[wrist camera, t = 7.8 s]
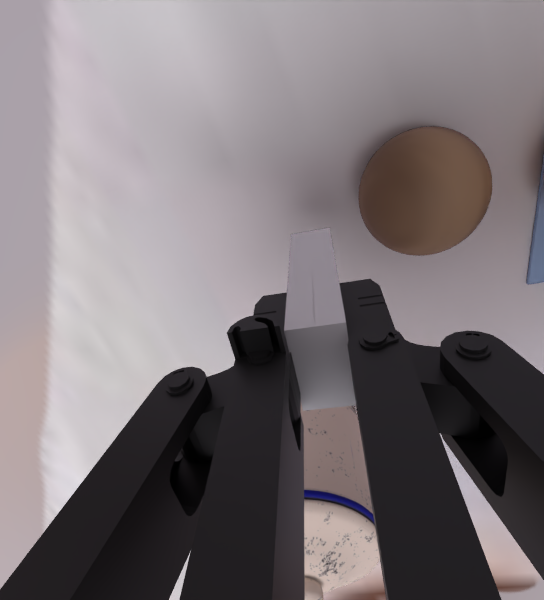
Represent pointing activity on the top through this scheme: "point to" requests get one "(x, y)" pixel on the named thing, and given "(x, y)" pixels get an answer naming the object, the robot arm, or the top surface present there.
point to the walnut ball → (425, 190)
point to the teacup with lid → (335, 502)
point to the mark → (538, 239)
